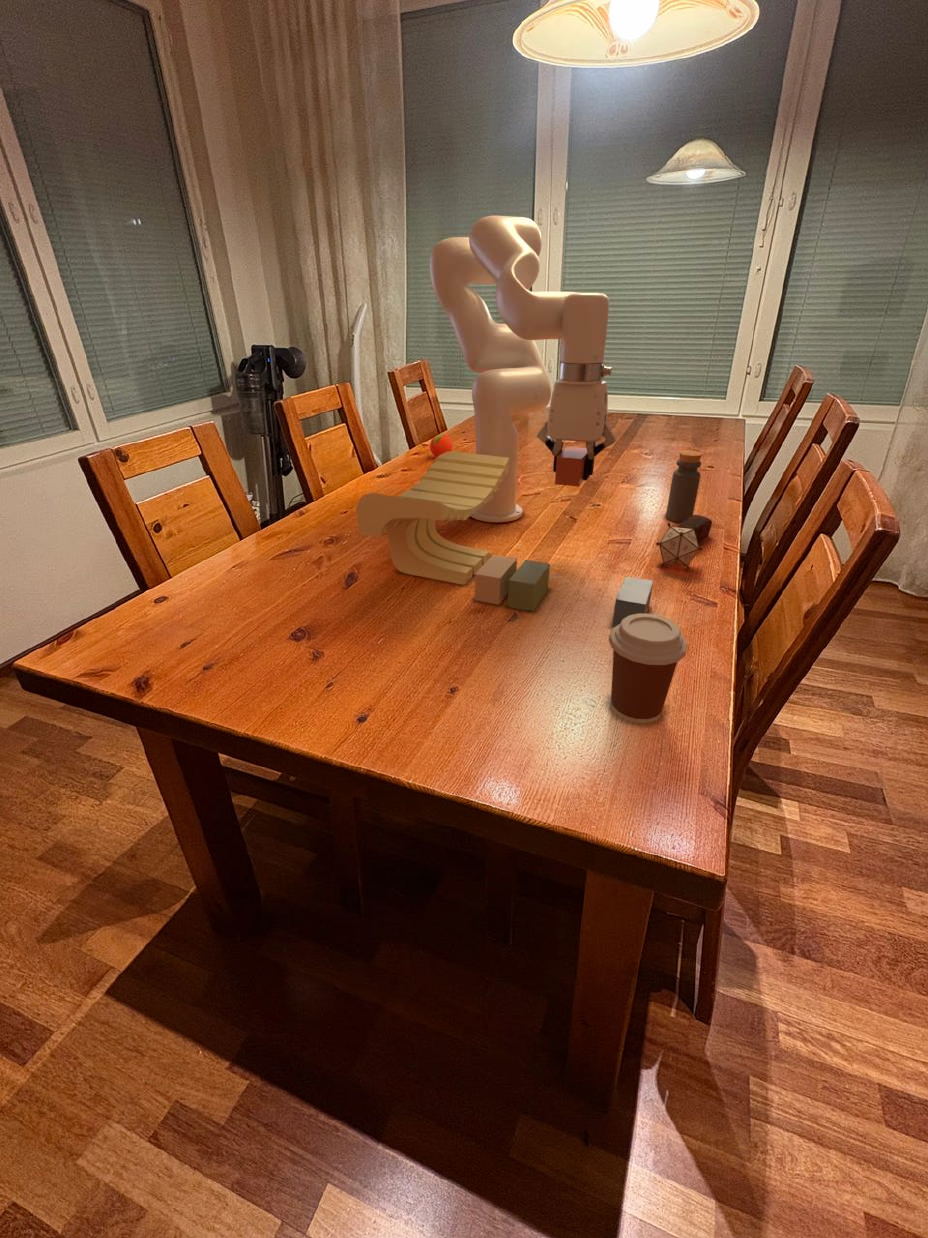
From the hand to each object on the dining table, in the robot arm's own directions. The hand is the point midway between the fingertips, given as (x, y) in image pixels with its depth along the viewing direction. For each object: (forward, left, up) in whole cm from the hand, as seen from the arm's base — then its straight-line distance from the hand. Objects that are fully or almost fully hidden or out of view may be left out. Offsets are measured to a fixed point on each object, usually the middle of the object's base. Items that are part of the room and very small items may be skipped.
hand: (572, 476), depth 113 cm
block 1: (-7, -21, -16) cm, 28 cm away
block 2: (-1, -21, -16) cm, 27 cm away
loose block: (0, 0, -1) cm, 1 cm away
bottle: (+19, +31, -16) cm, 39 cm away
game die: (+21, +3, -16) cm, 26 cm away
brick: (+23, +17, -16) cm, 32 cm away
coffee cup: (+21, -45, -16) cm, 53 cm away
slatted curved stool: (-21, -14, -16) cm, 30 cm away
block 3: (+16, -21, -16) cm, 31 cm away
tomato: (-54, +58, -16) cm, 81 cm away
